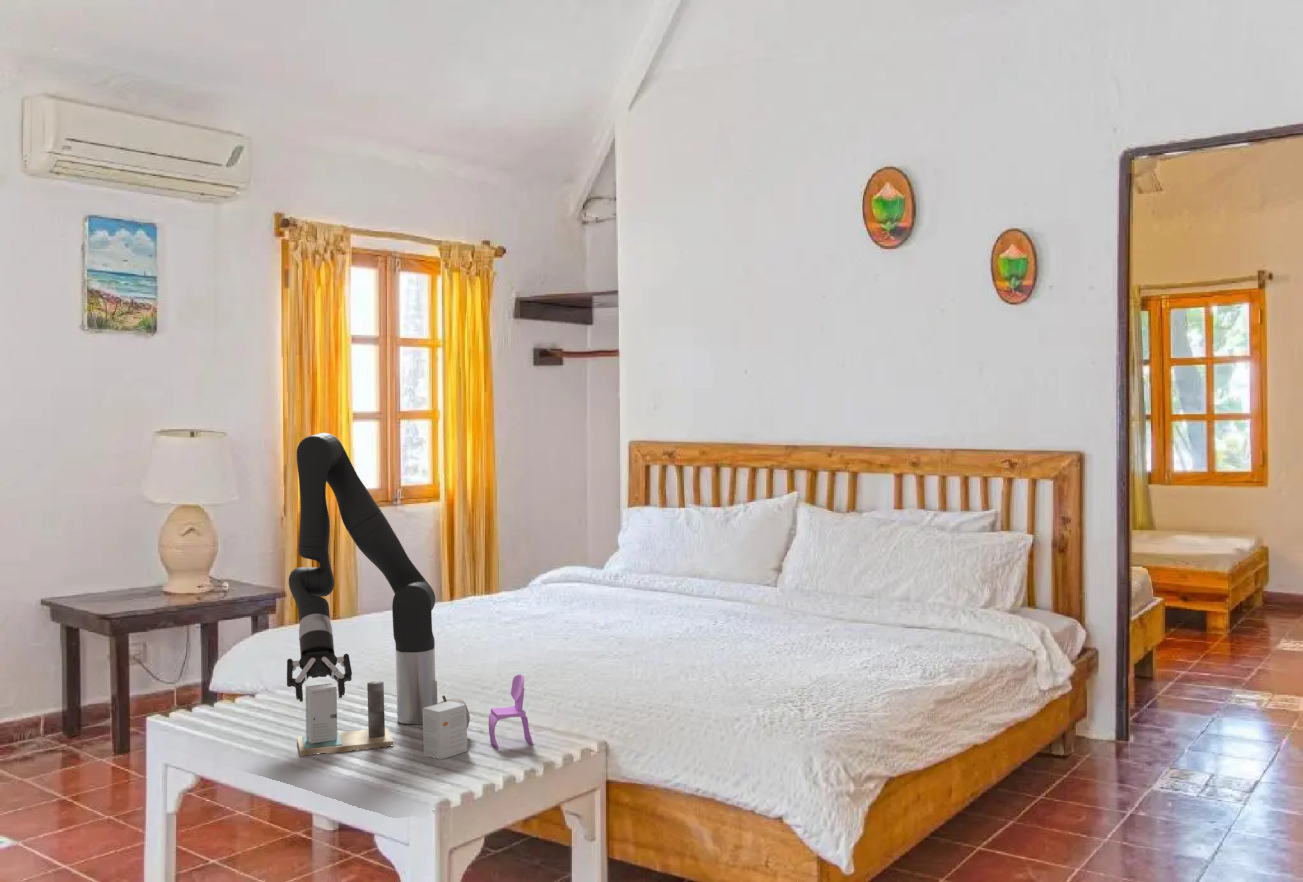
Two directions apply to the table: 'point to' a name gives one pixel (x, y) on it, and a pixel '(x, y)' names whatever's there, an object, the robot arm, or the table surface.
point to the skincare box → (321, 713)
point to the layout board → (357, 739)
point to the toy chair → (511, 710)
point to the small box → (444, 729)
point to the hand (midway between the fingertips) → (321, 698)
